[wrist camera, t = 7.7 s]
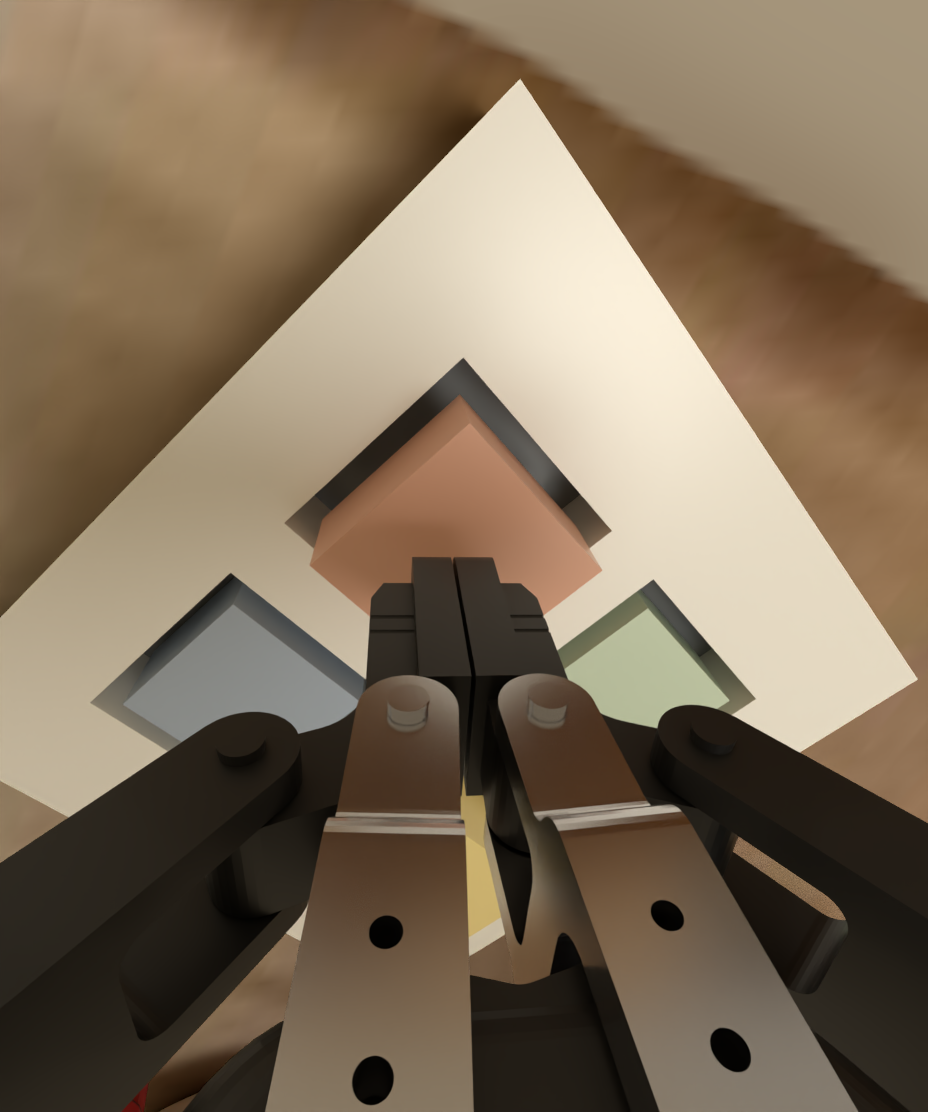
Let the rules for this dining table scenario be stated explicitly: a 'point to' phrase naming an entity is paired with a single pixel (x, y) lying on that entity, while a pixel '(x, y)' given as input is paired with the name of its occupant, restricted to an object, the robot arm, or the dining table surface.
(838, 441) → the dining table surface
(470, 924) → the key mustard
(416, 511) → the key terracotta
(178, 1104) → the bowl
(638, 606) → the key sage
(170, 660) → the key slate
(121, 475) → the dining table surface
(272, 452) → the keypad board
